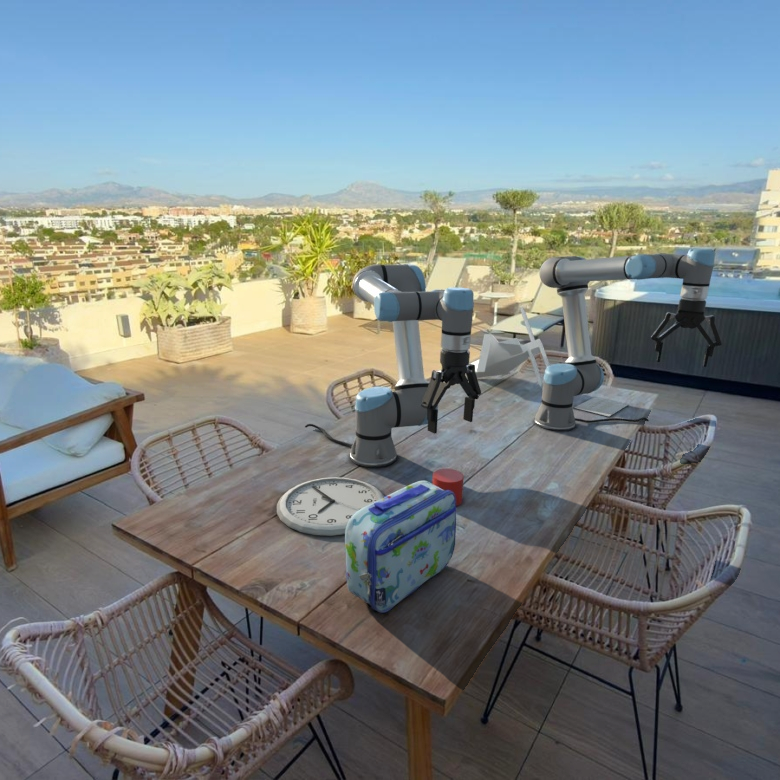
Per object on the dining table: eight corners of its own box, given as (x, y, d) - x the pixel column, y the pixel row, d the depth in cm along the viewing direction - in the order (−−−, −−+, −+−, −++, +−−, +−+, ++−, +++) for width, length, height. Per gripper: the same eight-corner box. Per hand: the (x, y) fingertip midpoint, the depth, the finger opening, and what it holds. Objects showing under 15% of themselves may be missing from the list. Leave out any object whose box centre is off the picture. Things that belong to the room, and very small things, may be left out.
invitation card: (608, 416, 214) (573, 407, 224) (608, 416, 214) (573, 408, 224) (628, 404, 229) (594, 396, 238) (628, 405, 229) (594, 397, 238)
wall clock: (392, 527, 129) (268, 531, 127) (391, 533, 130) (269, 537, 127) (383, 473, 158) (282, 475, 155) (383, 478, 158) (282, 480, 156)
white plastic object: (490, 419, 265) (470, 397, 240) (471, 347, 287) (451, 319, 262) (561, 395, 253) (548, 369, 228) (536, 321, 275) (521, 290, 250)
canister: (433, 507, 143) (435, 482, 141) (430, 492, 151) (431, 468, 149) (464, 506, 143) (466, 482, 141) (459, 491, 151) (460, 468, 149)
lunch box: (374, 626, 100) (375, 530, 93) (338, 598, 107) (337, 508, 101) (459, 568, 117) (465, 484, 111) (424, 547, 124) (427, 467, 118)
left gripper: (429, 359, 124) (425, 441, 131) (498, 345, 139) (491, 420, 146) (409, 353, 129) (406, 432, 136) (477, 340, 144) (471, 412, 151)
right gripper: (650, 297, 168) (639, 361, 175) (741, 303, 159) (726, 370, 165) (649, 295, 175) (639, 356, 181) (736, 300, 165) (722, 365, 172)
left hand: (450, 426), depth 141 cm, fingers open, 13 cm apart
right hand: (680, 363), depth 173 cm, fingers open, 13 cm apart
